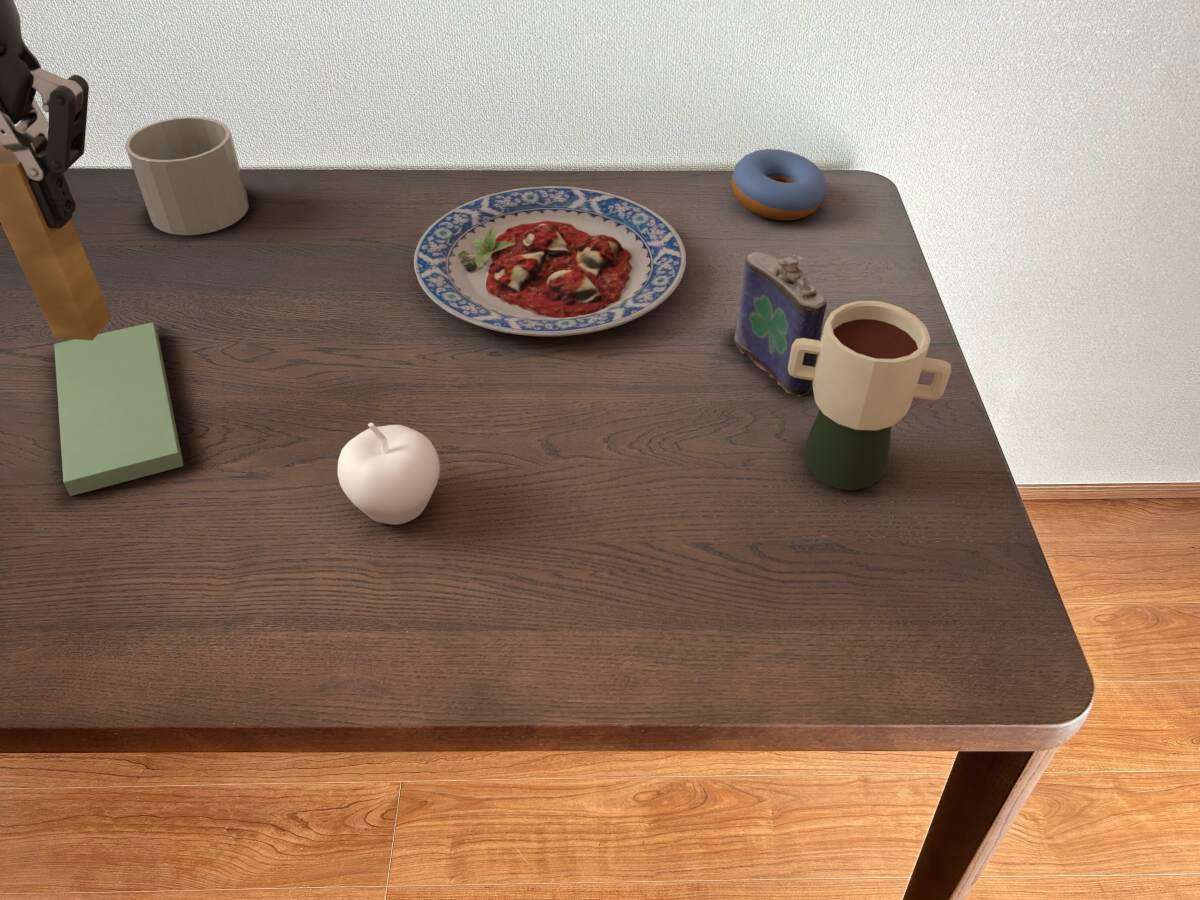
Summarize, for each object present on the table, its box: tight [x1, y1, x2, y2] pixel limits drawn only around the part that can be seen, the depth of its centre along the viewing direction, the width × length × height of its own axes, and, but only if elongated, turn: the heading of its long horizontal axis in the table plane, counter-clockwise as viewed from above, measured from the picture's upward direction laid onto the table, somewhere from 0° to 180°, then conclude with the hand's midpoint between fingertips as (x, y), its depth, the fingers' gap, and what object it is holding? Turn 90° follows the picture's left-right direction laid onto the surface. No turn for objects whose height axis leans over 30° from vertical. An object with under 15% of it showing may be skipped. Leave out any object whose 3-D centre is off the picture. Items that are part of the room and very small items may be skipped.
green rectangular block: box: [53, 321, 184, 497], centre depth 78 cm, size 18×8×2 cm, turn 24°
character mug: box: [788, 300, 952, 491], centre depth 70 cm, size 11×7×13 cm, turn 76°
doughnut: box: [730, 148, 827, 221], centre depth 102 cm, size 10×10×5 cm
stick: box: [0, 143, 112, 340], centre depth 68 cm, size 3×3×14 cm
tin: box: [124, 116, 250, 236], centre depth 98 cm, size 10×10×8 cm
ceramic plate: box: [413, 185, 687, 337], centre depth 93 cm, size 26×26×3 cm
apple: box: [337, 422, 441, 526], centre depth 68 cm, size 7×7×8 cm
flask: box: [734, 251, 828, 398], centre depth 80 cm, size 9×3×11 cm, turn 31°
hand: (35, 219), depth 67 cm, fingers closed on stick, 3 cm apart
